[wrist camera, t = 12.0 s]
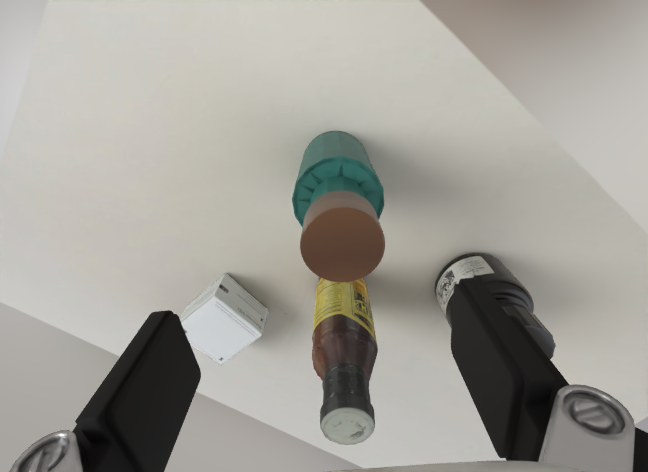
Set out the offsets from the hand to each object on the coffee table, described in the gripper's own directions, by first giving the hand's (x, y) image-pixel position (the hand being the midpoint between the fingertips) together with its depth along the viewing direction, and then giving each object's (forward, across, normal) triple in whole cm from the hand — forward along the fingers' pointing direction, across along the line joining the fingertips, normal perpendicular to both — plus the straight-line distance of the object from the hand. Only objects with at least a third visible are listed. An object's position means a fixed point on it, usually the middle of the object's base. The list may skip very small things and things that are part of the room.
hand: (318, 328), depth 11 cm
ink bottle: (+27, -16, +18) cm, 36 cm away
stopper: (+14, -1, +1) cm, 14 cm away
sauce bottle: (+27, 0, +16) cm, 32 cm away
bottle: (+27, -1, +2) cm, 27 cm away
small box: (+27, +15, +18) cm, 36 cm away
